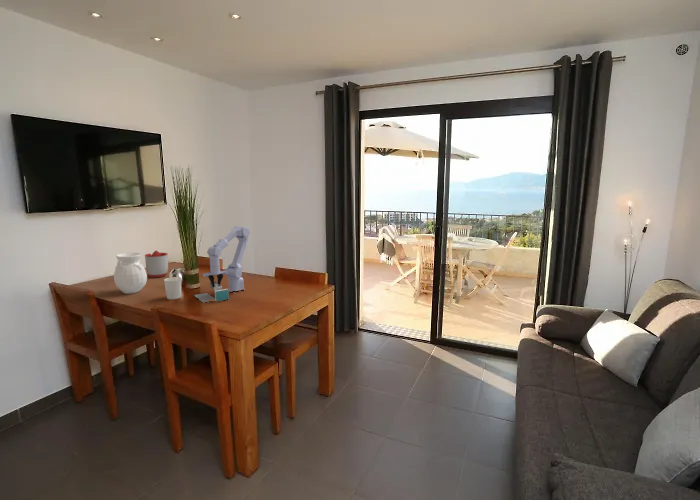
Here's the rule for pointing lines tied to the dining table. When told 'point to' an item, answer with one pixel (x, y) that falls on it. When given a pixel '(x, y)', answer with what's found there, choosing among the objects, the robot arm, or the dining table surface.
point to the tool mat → (204, 297)
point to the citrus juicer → (156, 264)
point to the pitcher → (129, 273)
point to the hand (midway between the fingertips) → (216, 286)
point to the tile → (221, 295)
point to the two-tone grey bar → (216, 286)
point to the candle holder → (173, 287)
